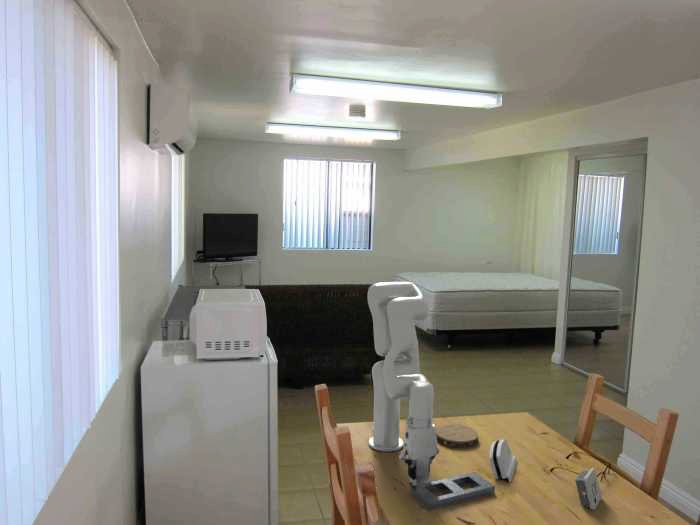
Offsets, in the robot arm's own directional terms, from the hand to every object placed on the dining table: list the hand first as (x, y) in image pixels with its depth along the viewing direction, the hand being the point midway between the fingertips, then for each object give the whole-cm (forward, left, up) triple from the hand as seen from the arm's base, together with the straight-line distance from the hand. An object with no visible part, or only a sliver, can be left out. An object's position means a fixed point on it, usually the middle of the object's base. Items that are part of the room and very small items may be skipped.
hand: (418, 475), depth 178 cm
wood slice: (-23, +31, -3) cm, 39 cm away
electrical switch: (+30, +41, -3) cm, 51 cm away
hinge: (+3, +31, -3) cm, 31 cm away
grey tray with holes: (+10, +6, -2) cm, 12 cm away
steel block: (0, 0, -2) cm, 2 cm away
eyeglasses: (+15, +54, -3) cm, 56 cm away
